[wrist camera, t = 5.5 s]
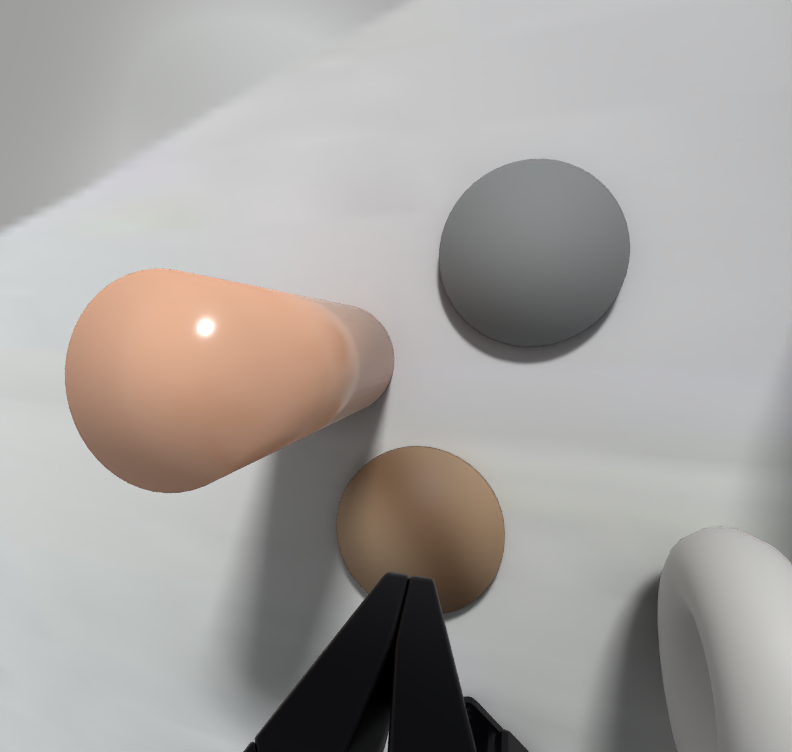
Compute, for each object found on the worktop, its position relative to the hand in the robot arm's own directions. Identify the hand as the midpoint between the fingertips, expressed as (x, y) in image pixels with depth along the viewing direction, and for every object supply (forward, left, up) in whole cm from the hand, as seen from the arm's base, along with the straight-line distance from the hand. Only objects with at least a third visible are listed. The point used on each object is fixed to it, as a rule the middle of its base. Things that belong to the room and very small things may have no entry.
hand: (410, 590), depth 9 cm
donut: (+1, -11, -15) cm, 19 cm away
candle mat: (+7, +4, -15) cm, 17 cm away
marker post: (-2, +7, -15) cm, 16 cm away
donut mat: (-5, -1, -15) cm, 15 cm away
